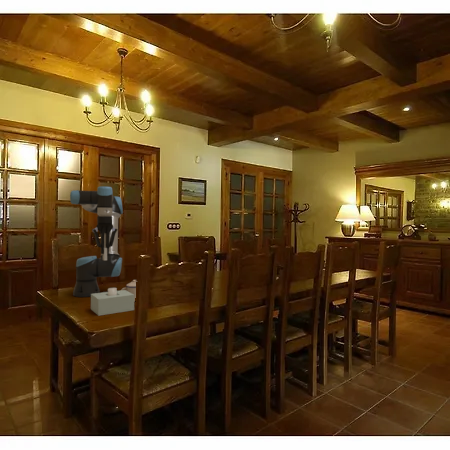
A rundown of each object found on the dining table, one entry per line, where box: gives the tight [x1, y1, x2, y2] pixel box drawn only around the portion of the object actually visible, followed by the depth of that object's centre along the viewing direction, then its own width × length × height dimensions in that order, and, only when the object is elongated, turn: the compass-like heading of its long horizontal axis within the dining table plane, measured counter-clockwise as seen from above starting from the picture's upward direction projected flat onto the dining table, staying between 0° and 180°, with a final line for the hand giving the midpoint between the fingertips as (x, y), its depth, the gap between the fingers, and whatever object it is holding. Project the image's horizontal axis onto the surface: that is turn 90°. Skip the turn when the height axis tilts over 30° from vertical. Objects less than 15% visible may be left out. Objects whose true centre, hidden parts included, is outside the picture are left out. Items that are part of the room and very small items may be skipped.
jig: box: [90, 289, 135, 317], centre depth 176 cm, size 14×18×8 cm
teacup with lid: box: [121, 279, 137, 303], centre depth 197 cm, size 12×9×12 cm
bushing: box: [107, 287, 118, 296], centre depth 176 cm, size 4×4×11 cm
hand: (104, 259), depth 181 cm, fingers closed
